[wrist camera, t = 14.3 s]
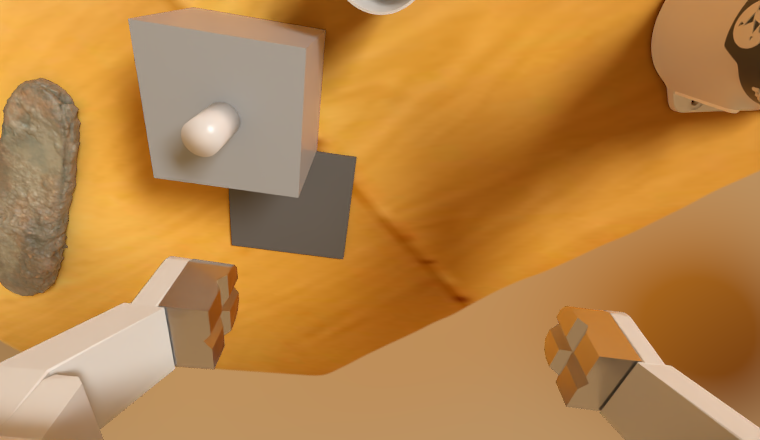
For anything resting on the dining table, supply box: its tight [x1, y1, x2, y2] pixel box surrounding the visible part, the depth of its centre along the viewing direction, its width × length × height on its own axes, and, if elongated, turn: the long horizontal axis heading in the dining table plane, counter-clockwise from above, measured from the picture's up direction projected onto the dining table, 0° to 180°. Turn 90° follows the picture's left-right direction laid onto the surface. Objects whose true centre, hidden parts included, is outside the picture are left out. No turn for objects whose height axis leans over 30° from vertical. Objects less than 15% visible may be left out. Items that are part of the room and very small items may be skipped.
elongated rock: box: [0, 78, 81, 296], centre depth 52 cm, size 35×5×10 cm
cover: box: [128, 7, 326, 198], centre depth 38 cm, size 14×14×17 cm
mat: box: [229, 151, 356, 259], centre depth 53 cm, size 16×16×1 cm
